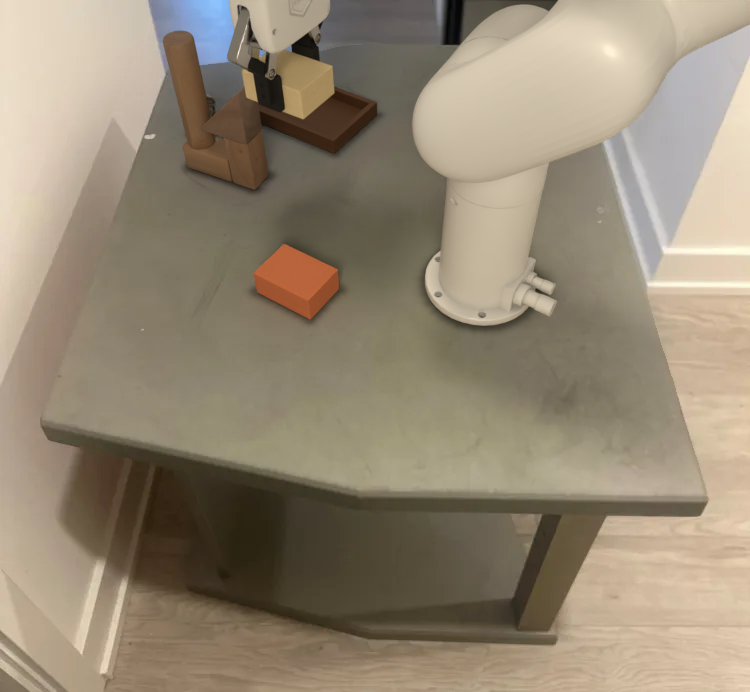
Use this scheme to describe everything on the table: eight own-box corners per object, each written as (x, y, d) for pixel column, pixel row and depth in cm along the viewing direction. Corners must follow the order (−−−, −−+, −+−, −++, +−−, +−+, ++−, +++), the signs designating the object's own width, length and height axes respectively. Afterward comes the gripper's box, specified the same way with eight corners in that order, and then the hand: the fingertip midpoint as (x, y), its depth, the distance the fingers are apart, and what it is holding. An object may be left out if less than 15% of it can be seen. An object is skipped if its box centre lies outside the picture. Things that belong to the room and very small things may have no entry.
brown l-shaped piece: (255, 191, 95) (233, 63, 81) (186, 168, 98) (153, 41, 84) (270, 175, 97) (251, 47, 83) (202, 152, 100) (172, 26, 86)
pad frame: (377, 114, 106) (377, 102, 104) (334, 154, 100) (333, 141, 98) (277, 76, 112) (276, 64, 110) (232, 111, 106) (229, 98, 105)
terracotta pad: (339, 288, 85) (338, 269, 82) (310, 320, 82) (308, 300, 79) (286, 263, 87) (284, 243, 85) (256, 292, 85) (253, 272, 82)
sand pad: (334, 93, 79) (332, 65, 76) (303, 119, 76) (300, 92, 73) (278, 73, 81) (274, 45, 79) (246, 98, 79) (241, 70, 76)
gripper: (236, -45, 58) (267, 146, 73) (357, -119, 67) (364, 64, 81) (166, -66, 61) (209, 122, 75) (292, -134, 70) (309, 46, 84)
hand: (290, 90), depth 78 cm, fingers closed on sand pad, 5 cm apart
